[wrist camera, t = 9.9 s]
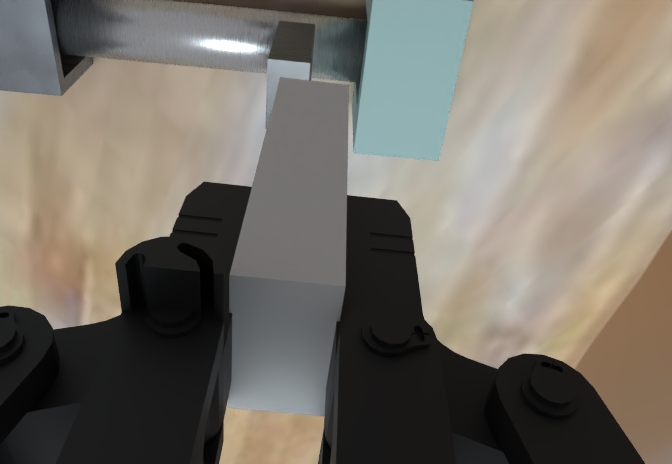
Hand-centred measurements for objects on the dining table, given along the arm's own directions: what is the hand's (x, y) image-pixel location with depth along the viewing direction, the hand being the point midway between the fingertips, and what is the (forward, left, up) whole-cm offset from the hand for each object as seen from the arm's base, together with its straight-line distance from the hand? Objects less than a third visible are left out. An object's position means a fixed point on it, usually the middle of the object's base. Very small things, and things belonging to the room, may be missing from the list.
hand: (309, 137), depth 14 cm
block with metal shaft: (+6, -6, -25) cm, 27 cm away
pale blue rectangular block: (+6, +5, -25) cm, 26 cm away
